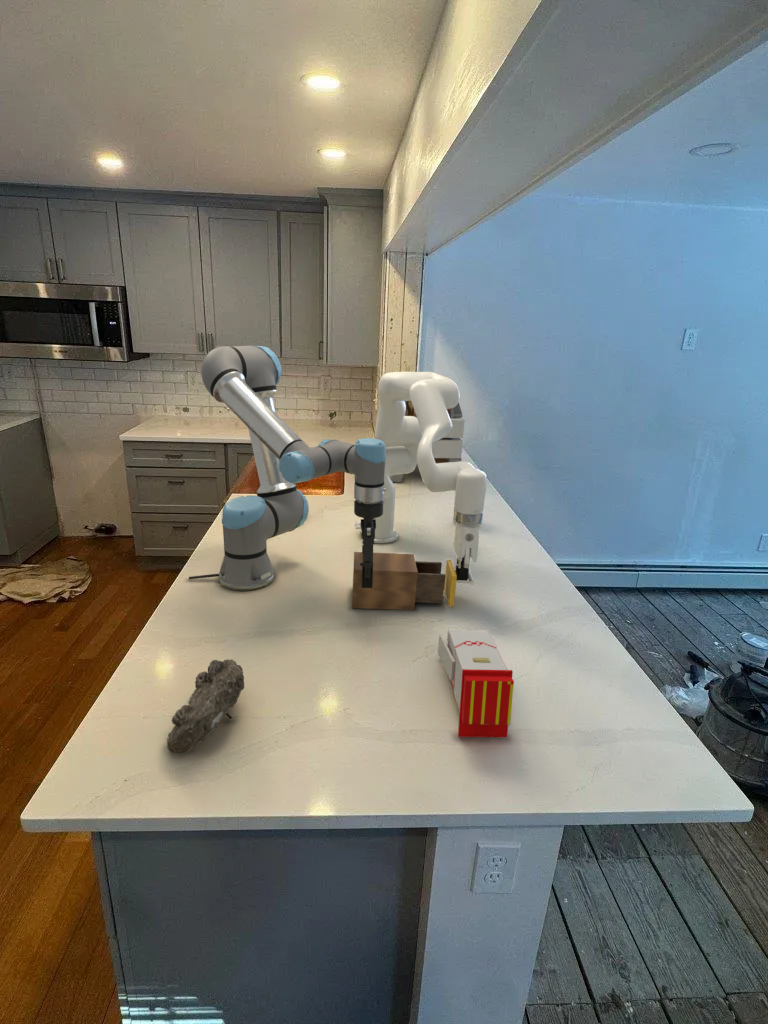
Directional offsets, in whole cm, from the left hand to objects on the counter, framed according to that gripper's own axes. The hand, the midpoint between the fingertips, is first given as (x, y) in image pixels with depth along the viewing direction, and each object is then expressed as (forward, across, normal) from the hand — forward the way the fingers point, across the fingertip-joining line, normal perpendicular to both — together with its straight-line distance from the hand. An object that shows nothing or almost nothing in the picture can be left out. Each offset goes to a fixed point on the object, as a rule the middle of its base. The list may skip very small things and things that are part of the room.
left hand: (366, 576), depth 152 cm
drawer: (+6, 0, -18) cm, 19 cm away
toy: (+7, -39, -21) cm, 45 cm away
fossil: (+6, -48, +30) cm, 57 cm away
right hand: (0, 0, -26) cm, 26 cm away
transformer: (+7, +127, -27) cm, 130 cm away
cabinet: (+7, 0, -4) cm, 8 cm away
